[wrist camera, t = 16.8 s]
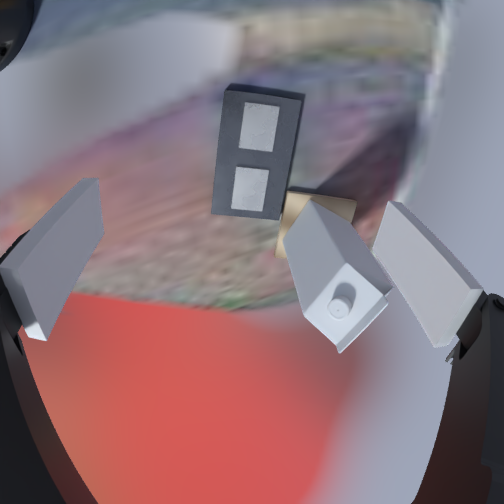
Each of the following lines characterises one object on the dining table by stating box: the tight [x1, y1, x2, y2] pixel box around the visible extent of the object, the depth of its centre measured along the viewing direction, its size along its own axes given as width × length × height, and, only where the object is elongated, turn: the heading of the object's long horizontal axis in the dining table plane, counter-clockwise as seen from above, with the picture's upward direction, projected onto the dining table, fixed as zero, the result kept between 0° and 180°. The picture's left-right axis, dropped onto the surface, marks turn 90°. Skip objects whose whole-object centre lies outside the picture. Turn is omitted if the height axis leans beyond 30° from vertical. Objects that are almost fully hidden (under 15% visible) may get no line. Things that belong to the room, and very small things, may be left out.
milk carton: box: [282, 200, 394, 353], centre depth 34 cm, size 7×7×19 cm
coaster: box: [274, 190, 357, 258], centre depth 43 cm, size 10×10×1 cm
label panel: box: [211, 90, 301, 220], centre depth 36 cm, size 16×9×1 cm, turn 172°
